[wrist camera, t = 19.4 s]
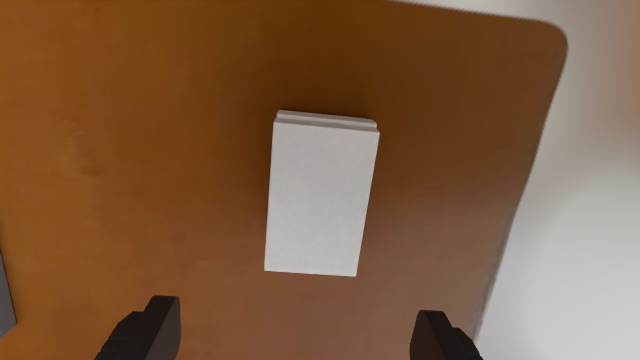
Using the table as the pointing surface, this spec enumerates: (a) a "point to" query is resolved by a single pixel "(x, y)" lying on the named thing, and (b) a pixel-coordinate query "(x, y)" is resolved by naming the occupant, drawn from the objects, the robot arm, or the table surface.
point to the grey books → (5, 304)
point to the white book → (318, 196)
